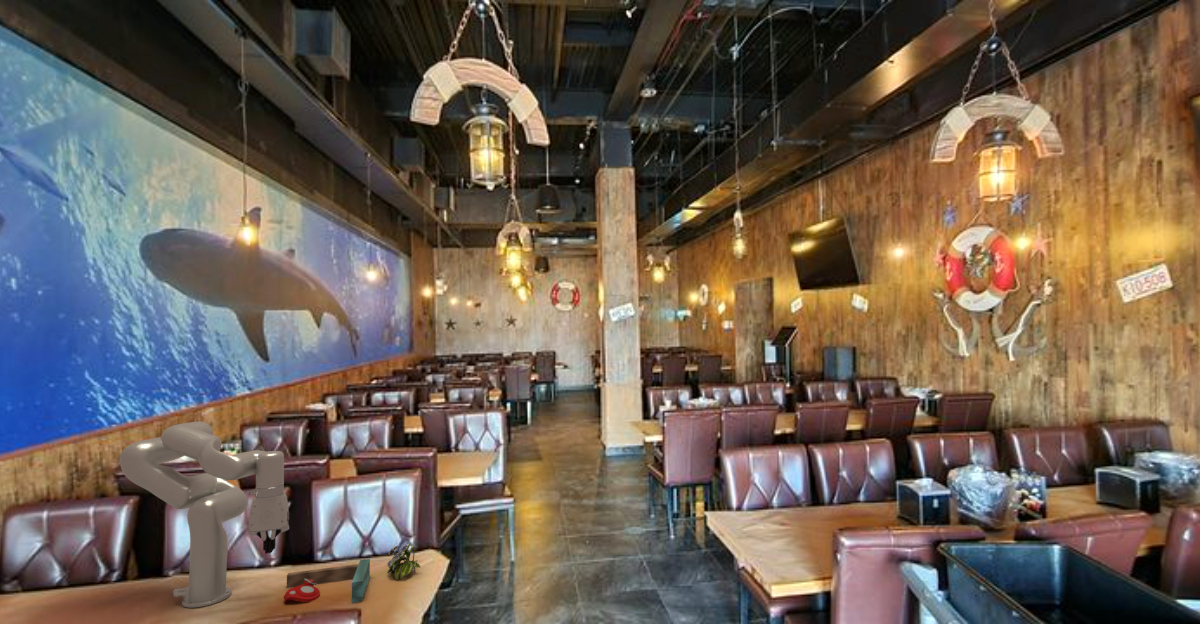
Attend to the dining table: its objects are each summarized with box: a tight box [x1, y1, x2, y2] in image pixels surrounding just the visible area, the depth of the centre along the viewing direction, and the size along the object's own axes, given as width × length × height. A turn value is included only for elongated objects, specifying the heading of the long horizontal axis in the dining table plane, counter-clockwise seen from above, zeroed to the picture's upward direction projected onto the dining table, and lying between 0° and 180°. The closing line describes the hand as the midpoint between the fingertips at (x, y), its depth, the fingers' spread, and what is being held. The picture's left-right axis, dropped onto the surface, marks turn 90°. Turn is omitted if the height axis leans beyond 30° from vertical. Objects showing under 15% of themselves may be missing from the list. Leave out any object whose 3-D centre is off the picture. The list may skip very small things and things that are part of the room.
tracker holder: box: [283, 579, 321, 604], centre depth 167 cm, size 12×4×10 cm
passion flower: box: [386, 543, 421, 581], centre depth 183 cm, size 11×11×12 cm
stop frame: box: [286, 558, 371, 604], centre depth 169 cm, size 25×21×6 cm
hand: (269, 551), depth 166 cm, fingers closed
